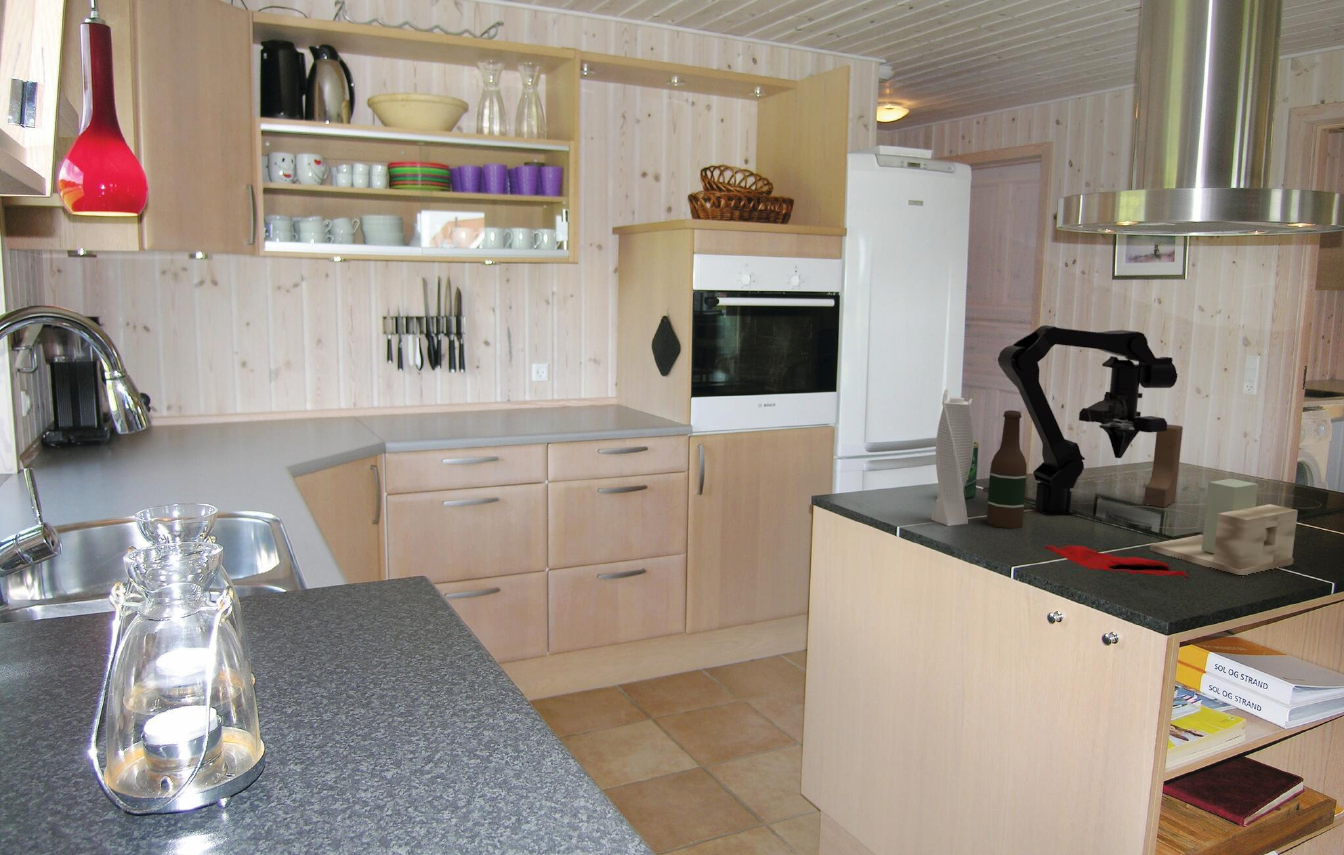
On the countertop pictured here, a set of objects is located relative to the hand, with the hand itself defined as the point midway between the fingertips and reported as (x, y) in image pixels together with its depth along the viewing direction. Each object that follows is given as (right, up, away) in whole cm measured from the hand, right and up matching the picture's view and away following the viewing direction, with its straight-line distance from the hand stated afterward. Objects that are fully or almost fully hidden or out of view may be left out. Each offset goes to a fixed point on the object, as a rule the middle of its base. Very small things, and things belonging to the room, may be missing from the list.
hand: (1118, 457), depth 211 cm
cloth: (-19, -19, -36) cm, 45 cm away
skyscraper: (-40, -13, -10) cm, 44 cm away
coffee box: (-32, -10, +12) cm, 35 cm away
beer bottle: (-29, -14, -11) cm, 34 cm away
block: (+5, -17, -35) cm, 39 cm away
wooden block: (+14, -11, +10) cm, 21 cm away
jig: (+4, -18, -33) cm, 38 cm away
